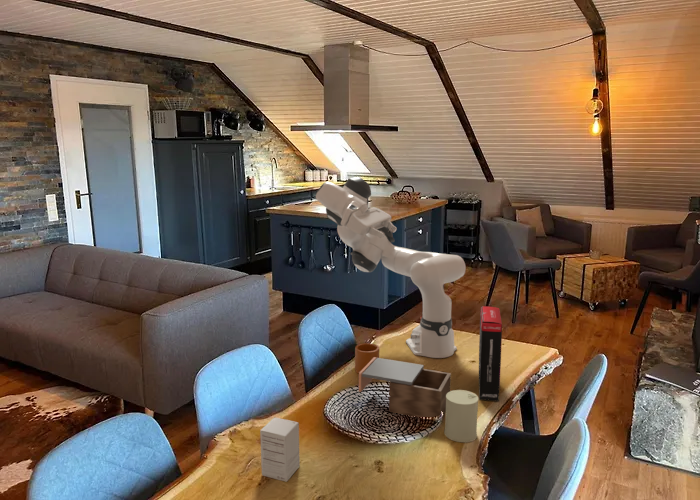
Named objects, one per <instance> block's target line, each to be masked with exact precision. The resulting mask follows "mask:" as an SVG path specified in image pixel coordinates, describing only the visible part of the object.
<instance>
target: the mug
mask: <svg viewBox="0 0 700 500" xmlns="http://www.w3.org/2000/svg"><path fill="white" fill-rule="evenodd" d="M374 357H376V359H377V358H380V347H379V345H377V344H375V343H369V342H366V343H365V342H363V343H359V344H357V345H355V348H354V359H355V360H354V367H355V368H354V369H355V370H354V371H355V373H357V374H358V373H359V372H360V371H361V370H362V369H363V368H364V367H365V366H366V365H367V364H368V363H369V362H370V361H371V360H372V359H373V358H374Z"/></svg>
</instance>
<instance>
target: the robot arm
mask: <svg viewBox="0 0 700 500" xmlns="http://www.w3.org/2000/svg"><path fill="white" fill-rule="evenodd" d="M371 196H372V189H371V186H370V184H369V183H368V182H367V181H365V180H364V179H363V178H361V177H359V176H355V177H349V178H348V179H347V181H346V182H345V183H344V185H343V186H340V185H338V184H336V183H334V182H331V181H329V180H328V181H325V182H323V183H322V184H321V186H320V187H319V188H318V189H317V191H316V193H315V199H316V201H318V202H319V203H320V205H322V206H323V207H325V212H326V217H327V218H328V219H329V220H330V221H332V222H333V223H335V224H336V225H337V227H336V228H337V229H336V230H337V231H336V232H337V234H338V236H339V238H340V240H341V241H342V243H343V244H345V245H346V246H348V247H350V248H352V252H350V255H351V261H352V263H353V265H354V266H355V268H357V269H358V270H360V271H361V272H363V273H372V272H374V271H375V269H376V268H377V267H378V264H379V262H380V261H381V263H382V265H383V267H384V268H386V269H388V270H390V271H392V272H394V273H396V274H399V275H403V276H406V277H410V279H411V281H412V283H413V284H414V285H415V286H416V287H418V289H419V291H420V294H421V298H422V315H419V316H420V317H419V319H420V322H419V324H418V325H417V326H416V327H414V328H413V329H412V331H411V334H410V337H409V338H407V339H406V340H405V343H406V345H407V346H408V347H409V349H410V351H411V352H412V354H414V355H415V356H423V357H426V358H431V359H432V358H433V359H442V358H443V359H444V358H449V357H451V356H453V354H454V353H455V351H456V350H457V349H458V348H457V346H456V345H455V332H454V330H453V328H452V326H453V319H452V299H451V297H450V296H449V295H448V294H447V293H445V290H444V284H447V283H448V284H449V283H453V282H455V281H457V280H460V278H462V277H464V275H465V274H466V268H467V267H466V263H465V261H464V258H463V257H461V256H460V255H458V254H451V253H450V254H448V253H440V252H439V253H438V252H432V251H420V250H415V249H410V248H407V247H403V246H402V247H401V246H397V245H394V244H393V243H395V238H394V236H393V235H394V234H393V233H395V232H396V231H397V230H398V229H397V227H396V226H395V225H394V224H393V223H392V216H391V214H390V213H388V212H386V211H384V210H382V209H380V208H378V207H376V206H375V207H369V198H370V197H371Z"/></svg>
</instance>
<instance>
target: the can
mask: <svg viewBox="0 0 700 500" xmlns="http://www.w3.org/2000/svg"><path fill="white" fill-rule="evenodd" d="M479 400H480V399H479V395H477V394H476V393H474V392H472V391H470V390H466V389H456V390H455V389H454V390H450V392H448V393H447V394H446V411H445V421H444V423H445V424H444V431H443V433H444V436H445V437H446V438H447V439H449V440H451V441H454V442H457V443H470V442H474V441H475V440H476V439H477V437H478V432H477V430H478V429H477V428H478V424H477V423H478V409H479Z"/></svg>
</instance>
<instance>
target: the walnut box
mask: <svg viewBox="0 0 700 500" xmlns="http://www.w3.org/2000/svg"><path fill="white" fill-rule="evenodd" d="M451 381H452V372H445V371H438V370H432V369H427V368H426V369H425V368H423V370H422V371H421V373H420V374H419V375H418V377H417V378H416V380H415V381H414V383H413V384H412V385H407V384H401V383H395V382H390V383H389V390H388V391H389V393H388V394H389V395H388V396H389V398H388V399H389V401H388V412H389V411H390V412H393V413H392V414H394V413H398V414H397V415H399V414H403V415H402V416H404V415H409V416H417V417H435V416H438V415H440V414H441V411H442V412H443V414H444V415H445V414H446V394H447V393H448V392H450V391H451V385H452V384H451V383H452V382H451ZM409 416H408V417H409Z"/></svg>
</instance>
